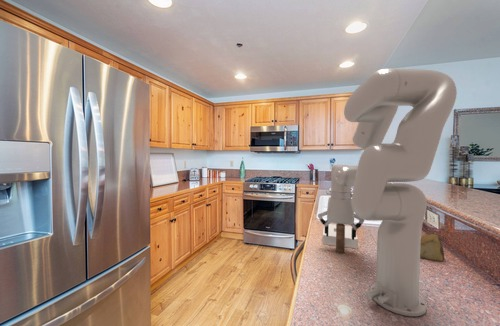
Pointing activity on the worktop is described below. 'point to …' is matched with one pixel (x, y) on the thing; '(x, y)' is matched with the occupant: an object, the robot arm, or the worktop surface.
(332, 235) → the hole block
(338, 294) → the worktop surface
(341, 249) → the peg
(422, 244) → the rock
